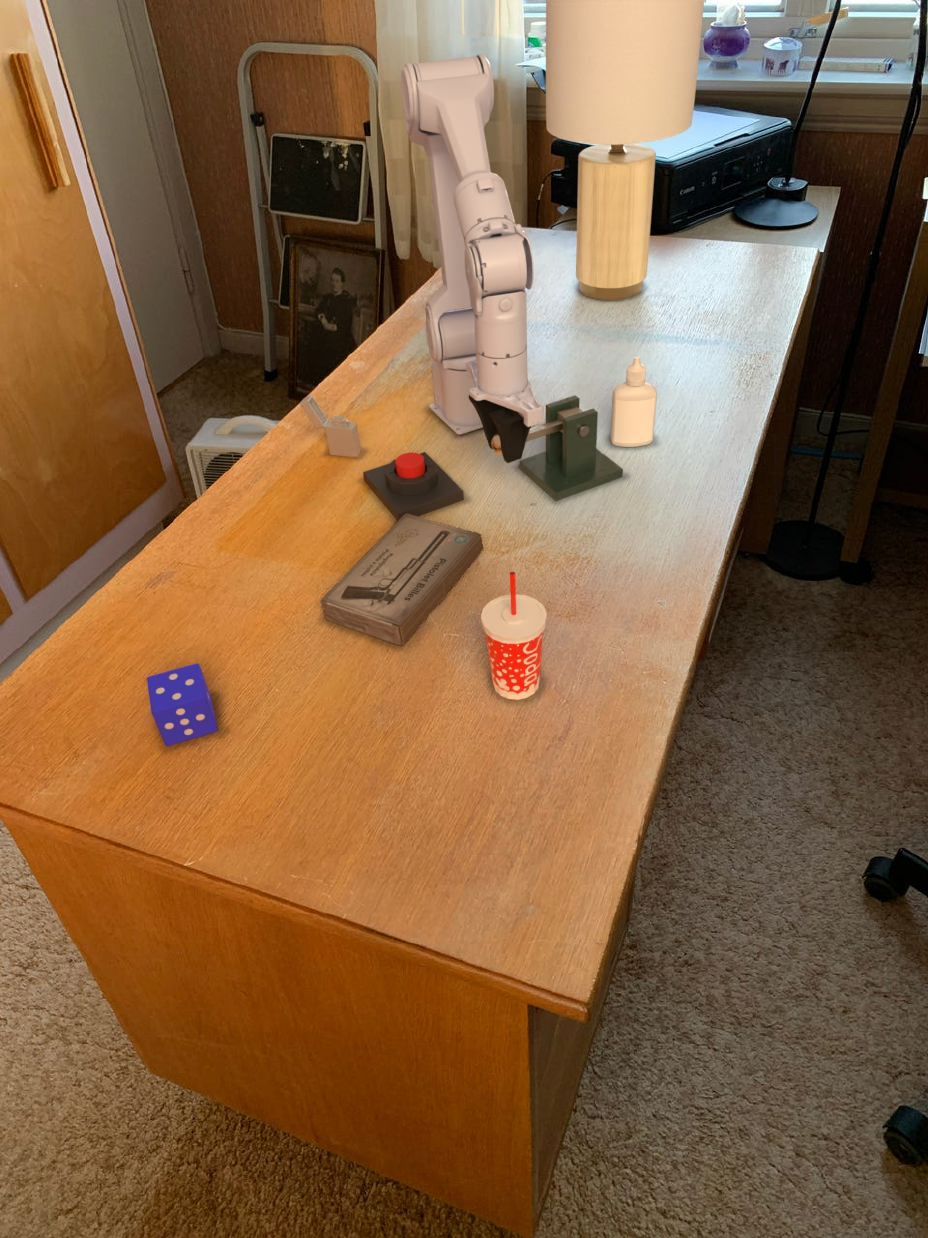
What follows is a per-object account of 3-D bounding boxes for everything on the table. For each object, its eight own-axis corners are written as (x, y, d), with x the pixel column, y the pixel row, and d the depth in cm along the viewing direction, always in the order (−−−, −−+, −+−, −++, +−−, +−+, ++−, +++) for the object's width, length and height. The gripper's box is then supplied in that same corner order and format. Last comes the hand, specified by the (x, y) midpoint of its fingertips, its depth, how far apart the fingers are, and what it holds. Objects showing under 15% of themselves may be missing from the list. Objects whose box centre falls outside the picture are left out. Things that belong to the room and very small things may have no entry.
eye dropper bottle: (645, 453, 120) (652, 369, 112) (605, 444, 122) (609, 361, 114) (656, 437, 123) (664, 353, 115) (617, 429, 125) (622, 346, 117)
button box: (364, 480, 119) (361, 459, 117) (425, 460, 122) (423, 439, 120) (399, 522, 112) (396, 501, 110) (464, 499, 115) (462, 478, 113)
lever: (499, 463, 109) (499, 440, 107) (486, 452, 112) (486, 428, 109) (587, 434, 113) (588, 411, 111) (573, 423, 116) (574, 401, 113)
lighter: (361, 450, 125) (353, 397, 120) (357, 457, 124) (348, 404, 119) (314, 445, 127) (303, 393, 122) (309, 452, 126) (298, 400, 120)
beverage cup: (501, 713, 88) (495, 603, 78) (475, 673, 92) (467, 564, 82) (558, 692, 89) (559, 582, 80) (529, 653, 93) (527, 544, 84)
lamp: (586, 255, 173) (595, -31, 143) (698, 276, 162) (732, -28, 133) (521, 298, 160) (515, -6, 130) (638, 325, 149) (661, 0, 119)
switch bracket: (555, 501, 113) (556, 435, 107) (519, 468, 119) (517, 404, 113) (622, 476, 116) (626, 411, 110) (583, 445, 123) (585, 382, 116)
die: (218, 732, 88) (205, 696, 85) (166, 747, 87) (151, 712, 84) (211, 697, 92) (198, 661, 88) (161, 711, 91) (146, 676, 87)
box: (485, 553, 105) (483, 531, 103) (404, 648, 95) (399, 626, 93) (408, 531, 110) (404, 510, 108) (322, 620, 99) (316, 598, 97)
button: (392, 469, 116) (390, 457, 115) (417, 461, 117) (416, 449, 116) (404, 482, 113) (402, 470, 112) (430, 473, 115) (428, 462, 113)
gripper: (440, 333, 106) (449, 436, 115) (502, 382, 96) (506, 490, 105) (493, 318, 108) (497, 420, 117) (559, 364, 98) (558, 472, 107)
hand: (505, 452), depth 111 cm, fingers closed on lever, 3 cm apart
